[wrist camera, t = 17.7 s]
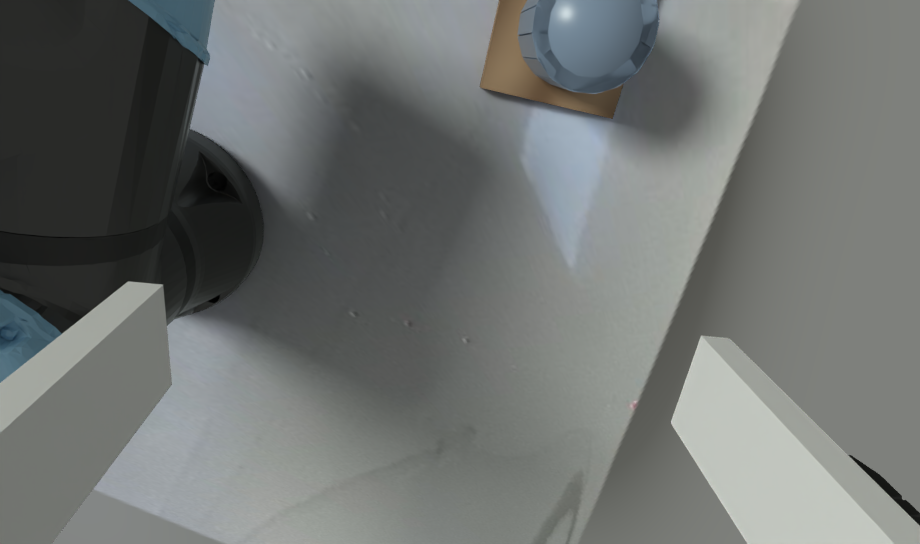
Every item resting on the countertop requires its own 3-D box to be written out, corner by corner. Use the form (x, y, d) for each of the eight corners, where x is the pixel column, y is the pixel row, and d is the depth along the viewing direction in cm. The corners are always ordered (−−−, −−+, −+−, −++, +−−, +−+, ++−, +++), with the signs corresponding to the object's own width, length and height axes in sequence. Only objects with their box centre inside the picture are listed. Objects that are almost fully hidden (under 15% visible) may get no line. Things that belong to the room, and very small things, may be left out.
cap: (584, 105, 38) (610, 115, 32) (498, 53, 37) (509, 53, 31) (643, 7, 36) (683, -1, 30) (554, -52, 34) (577, -73, 28)
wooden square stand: (479, 86, 40) (486, 93, 33) (514, -68, 36) (529, -92, 30) (607, 116, 41) (637, 129, 34) (654, -30, 37) (697, -46, 31)
